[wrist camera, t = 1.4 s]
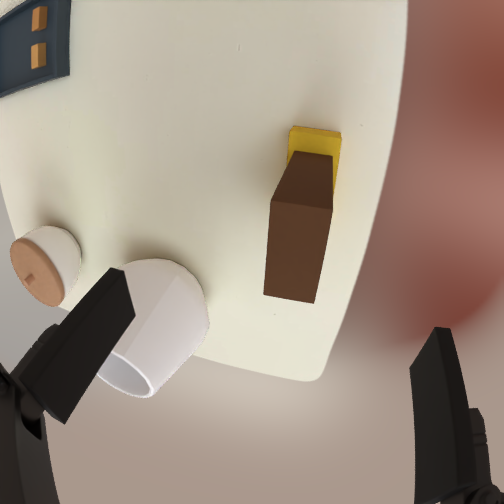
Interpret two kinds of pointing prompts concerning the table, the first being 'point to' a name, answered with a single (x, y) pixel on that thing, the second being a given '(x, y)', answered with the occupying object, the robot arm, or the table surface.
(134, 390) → the white vase
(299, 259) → the brush
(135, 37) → the table surface
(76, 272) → the trinket box
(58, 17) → the tray
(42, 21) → the crumb
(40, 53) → the crumb
